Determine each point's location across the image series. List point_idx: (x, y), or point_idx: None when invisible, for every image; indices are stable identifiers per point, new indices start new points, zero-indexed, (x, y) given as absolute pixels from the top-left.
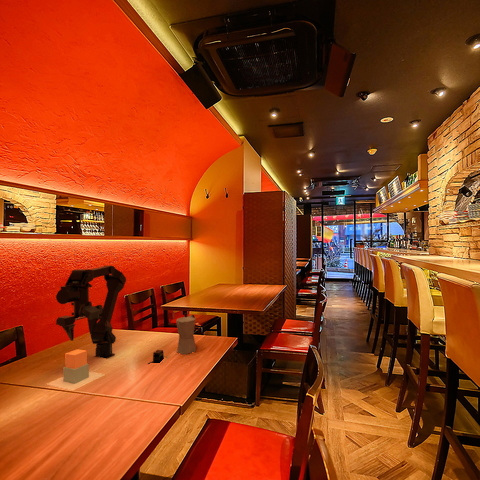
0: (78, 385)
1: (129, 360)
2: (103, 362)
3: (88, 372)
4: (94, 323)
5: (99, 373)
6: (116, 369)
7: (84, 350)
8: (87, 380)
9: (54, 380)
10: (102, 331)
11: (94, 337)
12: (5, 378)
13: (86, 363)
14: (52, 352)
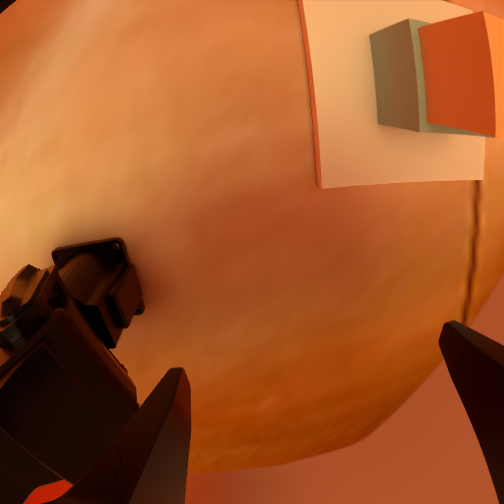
0: (442, 18)
1: (50, 93)
2: (145, 200)
3: (384, 29)
4: (121, 487)
5: (306, 17)
6: (177, 23)
7: (488, 37)
8: (396, 12)
9: (454, 178)
10: (46, 362)
11: (120, 379)
12: (431, 372)
13: (422, 28)
14: (220, 456)
